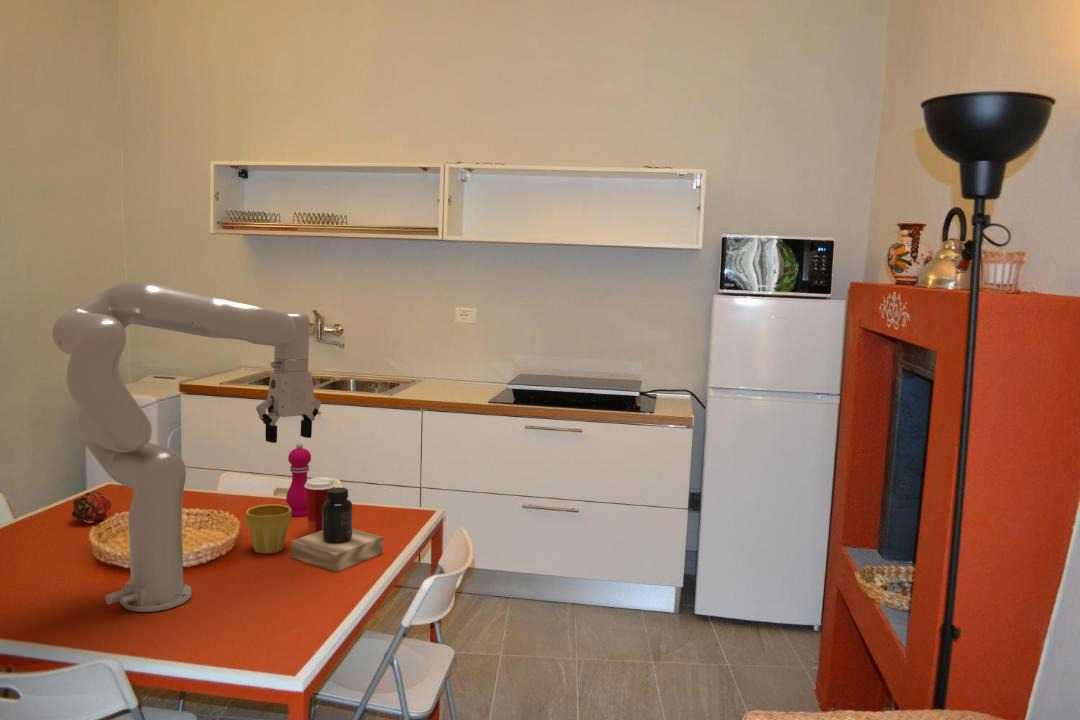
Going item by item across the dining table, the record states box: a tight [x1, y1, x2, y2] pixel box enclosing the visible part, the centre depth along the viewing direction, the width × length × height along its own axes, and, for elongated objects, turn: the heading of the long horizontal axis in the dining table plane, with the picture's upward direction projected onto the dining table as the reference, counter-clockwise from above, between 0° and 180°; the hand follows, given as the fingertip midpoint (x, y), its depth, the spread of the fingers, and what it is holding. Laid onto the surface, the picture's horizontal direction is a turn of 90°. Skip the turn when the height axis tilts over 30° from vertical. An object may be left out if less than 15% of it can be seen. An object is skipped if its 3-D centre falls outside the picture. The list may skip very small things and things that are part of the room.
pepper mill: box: [285, 442, 312, 518], centre depth 213 cm, size 7×7×20 cm
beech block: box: [290, 527, 384, 573], centre depth 184 cm, size 15×15×4 cm
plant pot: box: [245, 503, 293, 555], centre depth 186 cm, size 10×10×10 cm
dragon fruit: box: [71, 490, 112, 522], centre depth 202 cm, size 8×8×12 cm
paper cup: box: [304, 476, 337, 535], centre depth 198 cm, size 8×8×14 cm
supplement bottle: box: [323, 486, 353, 544], centre depth 183 cm, size 7×7×12 cm
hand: (288, 439), depth 179 cm, fingers open, 9 cm apart
